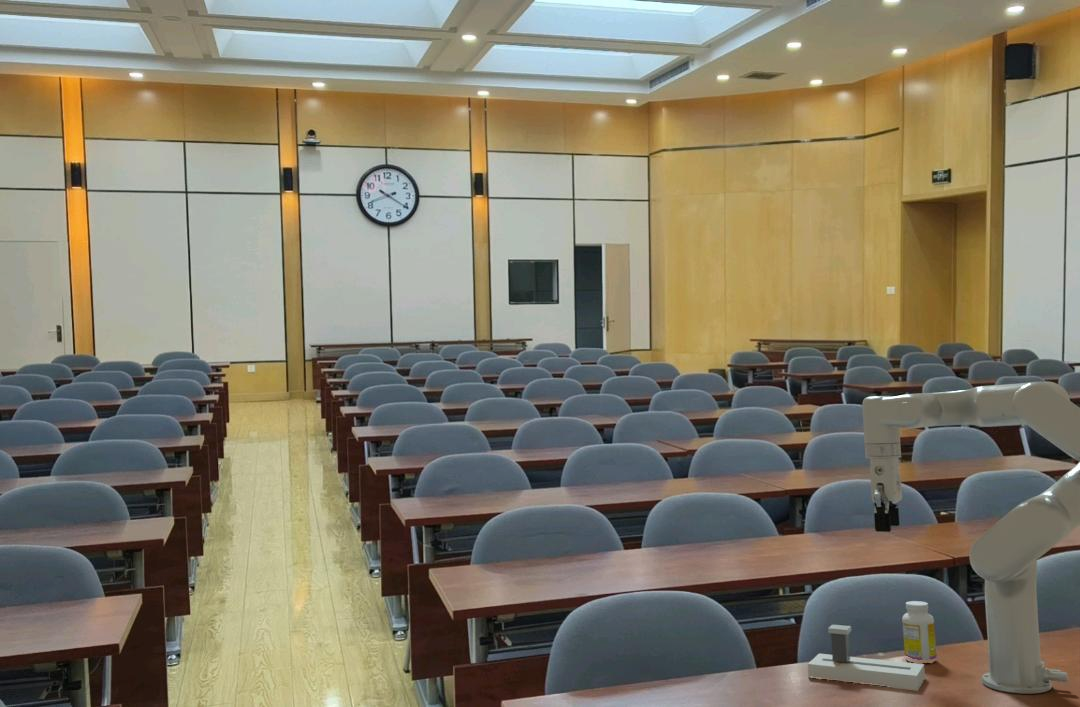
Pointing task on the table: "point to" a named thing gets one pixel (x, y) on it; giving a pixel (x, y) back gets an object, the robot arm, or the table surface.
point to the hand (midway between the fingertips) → (887, 528)
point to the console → (869, 671)
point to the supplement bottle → (919, 632)
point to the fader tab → (840, 642)
